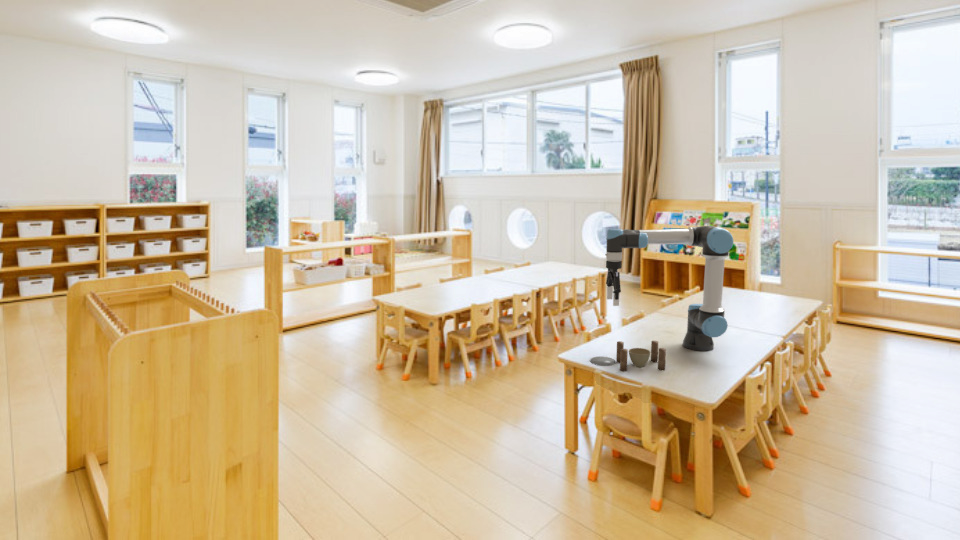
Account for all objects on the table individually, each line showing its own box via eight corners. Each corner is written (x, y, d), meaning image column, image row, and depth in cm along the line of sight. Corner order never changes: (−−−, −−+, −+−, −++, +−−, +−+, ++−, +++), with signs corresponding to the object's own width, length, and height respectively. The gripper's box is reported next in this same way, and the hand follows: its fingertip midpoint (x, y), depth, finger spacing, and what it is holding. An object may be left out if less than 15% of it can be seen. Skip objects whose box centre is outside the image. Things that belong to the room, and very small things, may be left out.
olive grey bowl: (633, 360, 258) (633, 346, 257) (653, 364, 252) (653, 350, 251) (624, 366, 251) (625, 351, 250) (645, 370, 245) (645, 356, 243)
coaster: (612, 357, 263) (612, 356, 263) (618, 365, 252) (618, 364, 252) (588, 357, 264) (588, 356, 264) (593, 365, 252) (593, 365, 252)
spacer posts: (656, 359, 258) (657, 340, 257) (666, 370, 244) (667, 350, 242) (613, 360, 259) (613, 341, 257) (620, 371, 244) (621, 350, 242)
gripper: (600, 256, 269) (599, 296, 273) (612, 264, 244) (611, 308, 248) (615, 256, 269) (614, 296, 272) (628, 264, 244) (626, 308, 248)
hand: (612, 302), depth 260 cm, fingers open, 13 cm apart
